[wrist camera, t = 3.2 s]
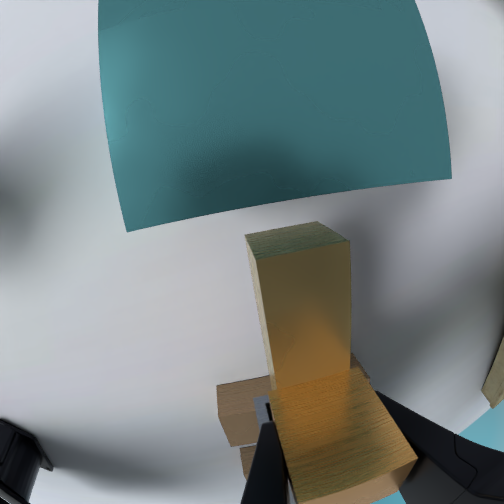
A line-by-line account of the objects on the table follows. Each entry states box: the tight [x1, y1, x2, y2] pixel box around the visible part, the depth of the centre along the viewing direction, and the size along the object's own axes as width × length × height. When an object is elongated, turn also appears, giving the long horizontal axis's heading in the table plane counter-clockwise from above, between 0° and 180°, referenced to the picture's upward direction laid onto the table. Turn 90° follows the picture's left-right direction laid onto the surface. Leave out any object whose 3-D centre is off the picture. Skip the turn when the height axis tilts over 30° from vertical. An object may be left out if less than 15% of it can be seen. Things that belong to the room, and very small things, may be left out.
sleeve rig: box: [98, 0, 452, 504], centre depth 11 cm, size 28×8×7 cm, turn 9°
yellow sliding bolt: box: [245, 221, 418, 504], centre depth 9 cm, size 19×3×6 cm, turn 9°
